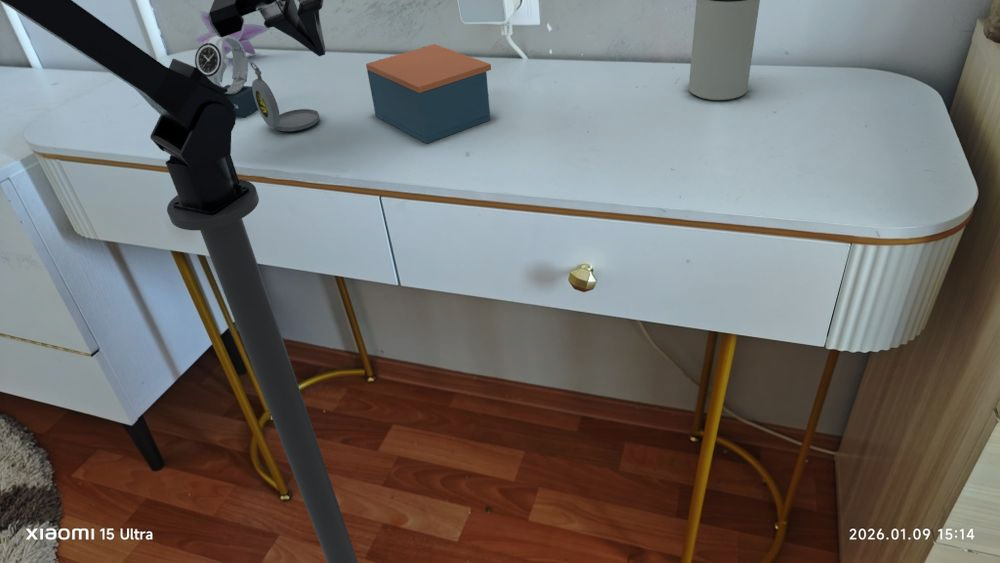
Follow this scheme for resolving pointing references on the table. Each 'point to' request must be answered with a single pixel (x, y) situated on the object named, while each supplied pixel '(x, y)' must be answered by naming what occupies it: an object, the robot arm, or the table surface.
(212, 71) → the watch
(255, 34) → the lily
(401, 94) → the storage box
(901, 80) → the table surface
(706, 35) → the travel mug
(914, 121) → the table surface
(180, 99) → the robot arm
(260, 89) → the pocket watch
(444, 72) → the box lid
